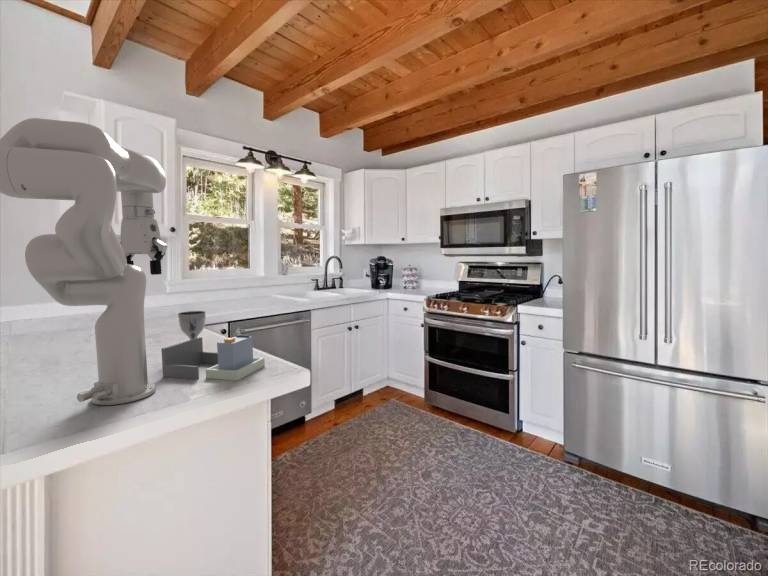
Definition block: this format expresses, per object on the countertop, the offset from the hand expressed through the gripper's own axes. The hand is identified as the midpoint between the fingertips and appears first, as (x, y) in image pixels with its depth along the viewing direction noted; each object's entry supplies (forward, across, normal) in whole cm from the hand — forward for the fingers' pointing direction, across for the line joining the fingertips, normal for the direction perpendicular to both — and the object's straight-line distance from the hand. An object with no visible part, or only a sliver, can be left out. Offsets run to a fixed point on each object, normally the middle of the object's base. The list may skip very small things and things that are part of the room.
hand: (142, 274), depth 106 cm
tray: (+28, -27, -4) cm, 39 cm away
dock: (+28, -16, -3) cm, 32 cm away
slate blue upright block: (+28, -27, -4) cm, 39 cm away
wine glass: (+28, -3, -15) cm, 32 cm away
